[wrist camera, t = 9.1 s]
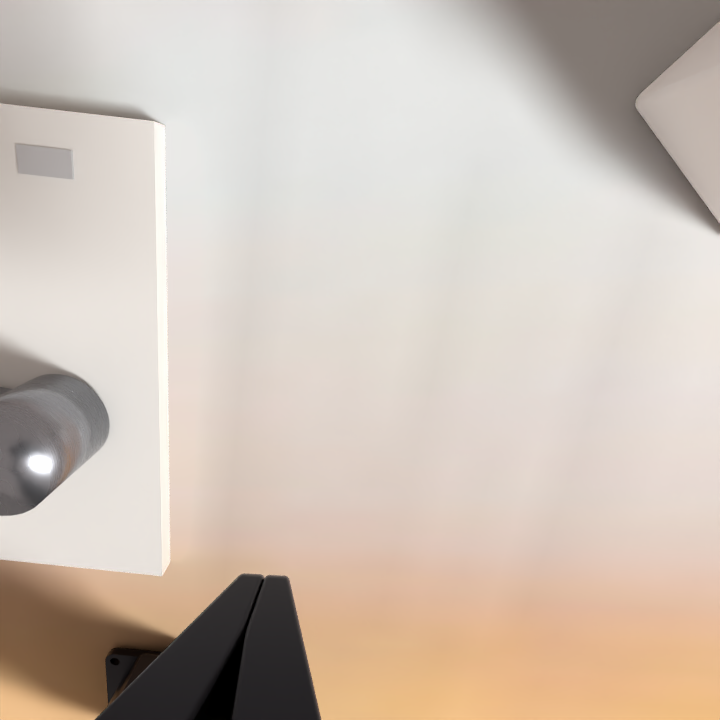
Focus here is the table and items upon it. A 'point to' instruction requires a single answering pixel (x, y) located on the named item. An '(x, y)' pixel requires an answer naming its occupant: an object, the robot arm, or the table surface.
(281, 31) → the table surface
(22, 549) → the base
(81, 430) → the lock lever
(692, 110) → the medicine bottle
